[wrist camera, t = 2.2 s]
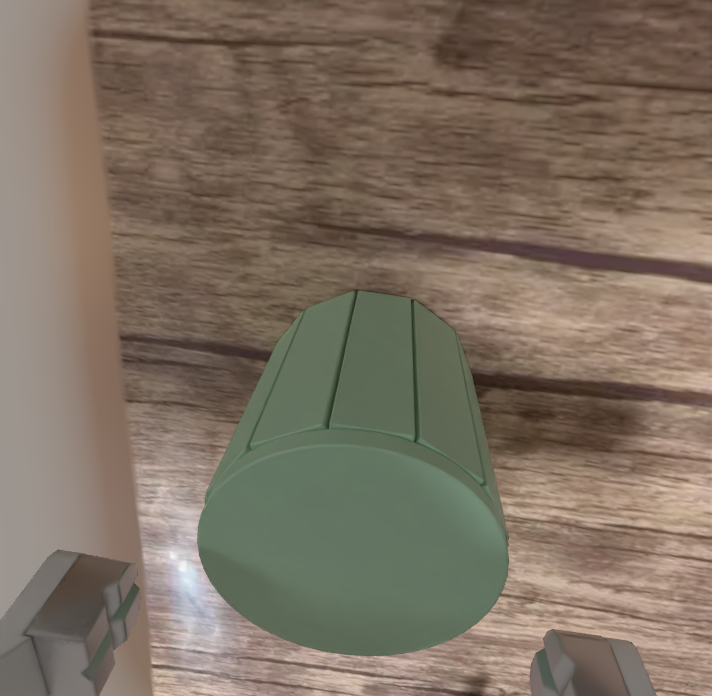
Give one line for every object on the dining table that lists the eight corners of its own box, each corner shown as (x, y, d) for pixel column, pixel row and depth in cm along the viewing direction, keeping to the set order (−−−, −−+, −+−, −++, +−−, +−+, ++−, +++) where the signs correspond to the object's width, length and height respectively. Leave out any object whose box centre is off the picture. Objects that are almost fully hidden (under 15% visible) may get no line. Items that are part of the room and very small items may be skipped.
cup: (278, 277, 15) (190, 419, 9) (491, 309, 15) (553, 476, 9) (270, 442, 18) (200, 633, 12) (445, 469, 18) (467, 675, 12)
